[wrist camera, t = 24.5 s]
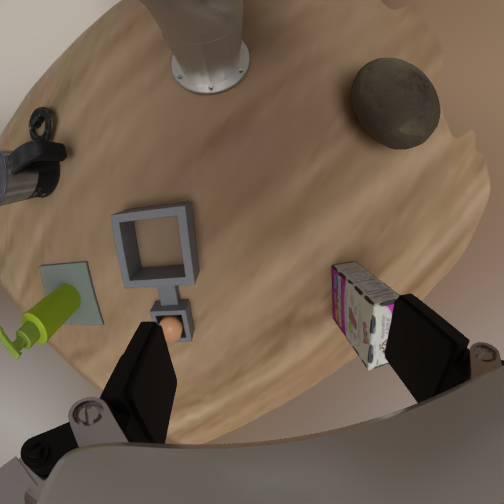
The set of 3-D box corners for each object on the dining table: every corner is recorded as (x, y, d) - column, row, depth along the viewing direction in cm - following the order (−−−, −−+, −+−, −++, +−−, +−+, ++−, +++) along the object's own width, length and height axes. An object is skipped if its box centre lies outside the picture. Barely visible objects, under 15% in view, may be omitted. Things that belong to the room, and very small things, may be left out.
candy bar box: (355, 313, 49) (395, 362, 34) (332, 318, 49) (366, 372, 34) (356, 259, 46) (405, 297, 30) (330, 264, 46) (372, 306, 30)
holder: (125, 209, 41) (110, 215, 35) (191, 201, 42) (185, 205, 36) (149, 330, 47) (141, 348, 42) (208, 328, 48) (205, 347, 42)
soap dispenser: (63, 273, 43) (-1, 321, 23) (85, 300, 44) (30, 359, 25) (51, 289, 43) (-8, 338, 24) (71, 315, 45) (20, 372, 26)
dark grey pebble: (403, 89, 38) (454, 70, 23) (402, 158, 42) (458, 158, 27) (336, 67, 36) (376, 32, 22) (332, 142, 40) (377, 130, 26)
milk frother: (42, 207, 39) (-10, 223, 25) (11, 153, 35) (-38, 155, 21) (84, 153, 38) (31, 149, 24) (49, 100, 34) (0, 86, 19)
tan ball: (159, 313, 44) (155, 322, 41) (181, 312, 44) (178, 321, 41) (164, 332, 45) (160, 342, 42) (185, 332, 45) (183, 341, 42)
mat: (40, 265, 42) (38, 266, 42) (87, 261, 43) (85, 262, 42) (57, 322, 46) (56, 323, 45) (104, 323, 47) (103, 325, 46)
